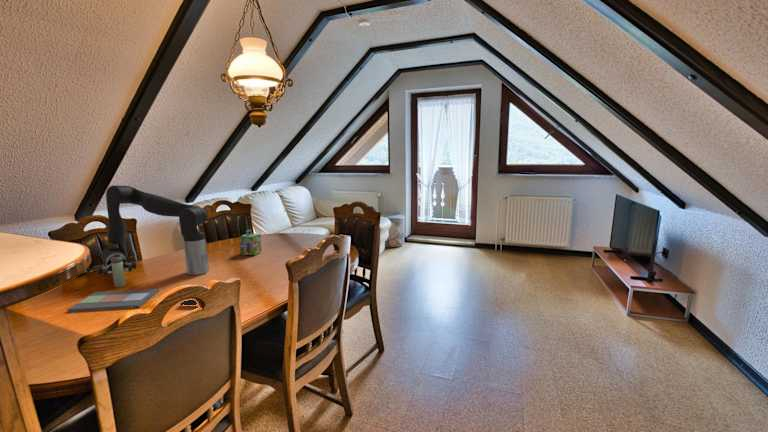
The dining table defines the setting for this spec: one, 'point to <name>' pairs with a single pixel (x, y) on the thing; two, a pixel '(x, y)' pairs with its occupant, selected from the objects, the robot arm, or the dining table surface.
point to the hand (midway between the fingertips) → (118, 271)
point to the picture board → (114, 300)
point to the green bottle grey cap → (118, 271)
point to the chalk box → (250, 243)
